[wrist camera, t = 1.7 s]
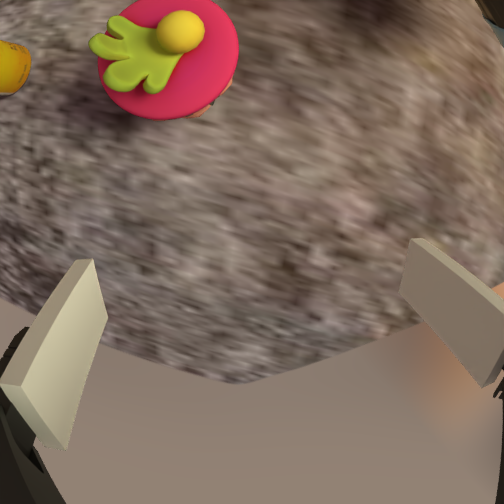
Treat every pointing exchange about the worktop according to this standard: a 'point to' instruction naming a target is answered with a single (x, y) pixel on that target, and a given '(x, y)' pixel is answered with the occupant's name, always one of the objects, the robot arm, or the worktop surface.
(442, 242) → the worktop surface
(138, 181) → the worktop surface
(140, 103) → the cake
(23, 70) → the beer can
